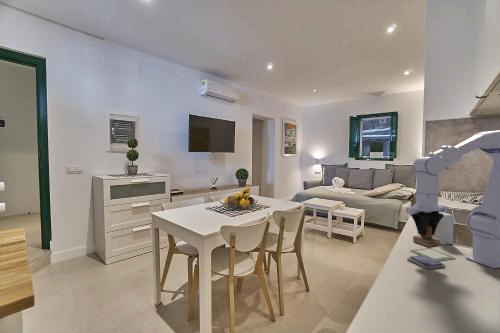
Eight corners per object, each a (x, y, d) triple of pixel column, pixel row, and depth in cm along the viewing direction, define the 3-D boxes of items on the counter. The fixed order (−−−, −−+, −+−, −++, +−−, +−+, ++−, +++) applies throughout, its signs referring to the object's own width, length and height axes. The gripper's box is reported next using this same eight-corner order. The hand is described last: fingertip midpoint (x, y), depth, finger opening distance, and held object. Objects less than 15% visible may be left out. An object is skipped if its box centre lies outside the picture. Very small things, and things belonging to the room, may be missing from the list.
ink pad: (423, 258, 80) (423, 254, 80) (445, 267, 73) (445, 263, 73) (407, 260, 78) (407, 256, 78) (427, 269, 71) (427, 265, 71)
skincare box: (453, 245, 92) (454, 215, 91) (441, 244, 92) (442, 215, 92) (444, 240, 98) (444, 212, 97) (432, 239, 98) (433, 211, 98)
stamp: (424, 241, 78) (424, 223, 78) (439, 246, 74) (440, 227, 73) (413, 242, 77) (413, 224, 77) (428, 248, 72) (428, 228, 72)
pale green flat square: (429, 248, 88) (429, 247, 88) (455, 258, 79) (455, 257, 79) (410, 251, 86) (410, 249, 86) (434, 261, 77) (434, 259, 77)
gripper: (432, 191, 80) (431, 229, 81) (398, 192, 77) (397, 232, 77) (454, 193, 74) (453, 235, 74) (417, 195, 70) (417, 239, 71)
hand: (426, 234), depth 75 cm, fingers closed on stamp, 3 cm apart
